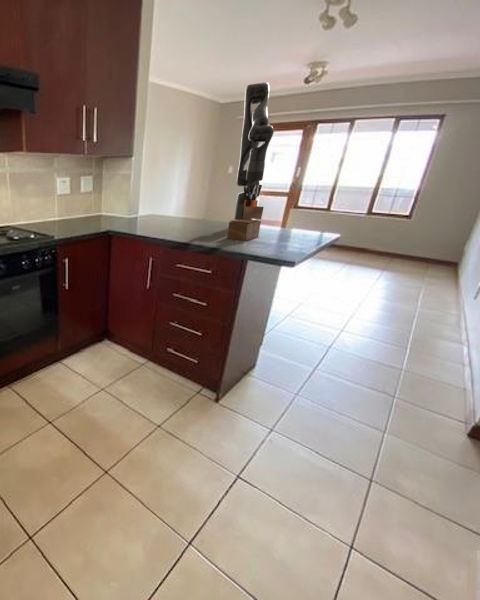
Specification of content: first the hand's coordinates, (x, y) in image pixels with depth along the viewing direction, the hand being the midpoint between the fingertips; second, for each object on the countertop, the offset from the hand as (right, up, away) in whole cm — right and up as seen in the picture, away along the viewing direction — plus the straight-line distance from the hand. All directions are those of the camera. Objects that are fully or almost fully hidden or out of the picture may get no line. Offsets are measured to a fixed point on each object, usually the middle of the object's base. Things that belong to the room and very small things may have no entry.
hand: (250, 205), depth 172 cm
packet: (0, 0, 0) cm, 0 cm away
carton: (-2, -16, +4) cm, 16 cm away
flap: (+3, -2, +3) cm, 5 cm away
